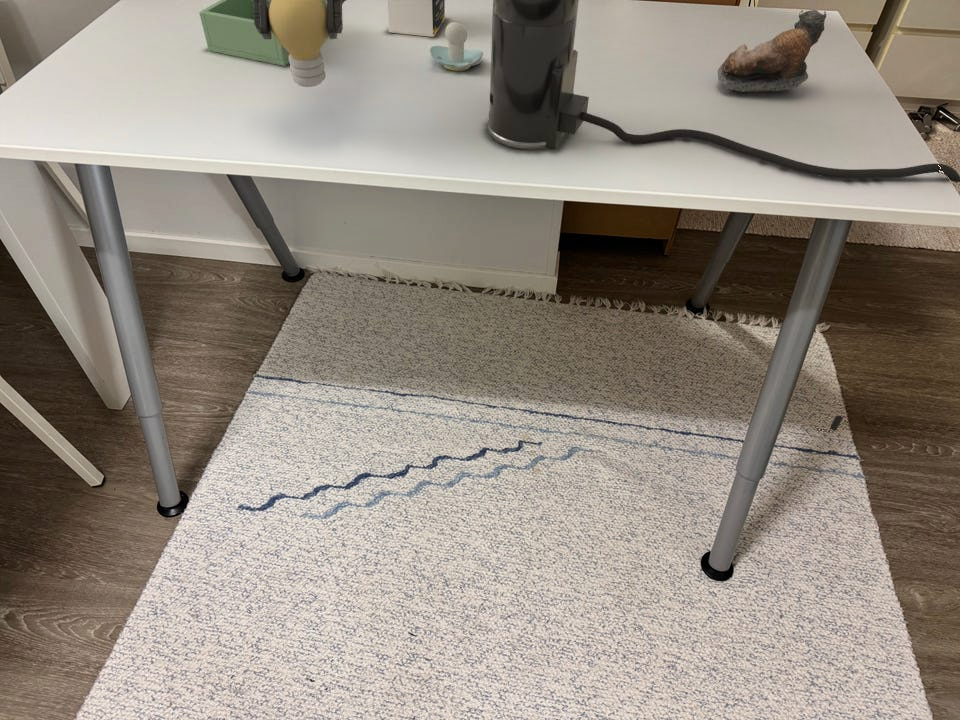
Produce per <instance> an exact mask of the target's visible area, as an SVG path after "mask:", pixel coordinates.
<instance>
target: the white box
mask: <svg viewBox="0 0 960 720" xmlns="http://www.w3.org/2000/svg"><path fill="white" fill-rule="evenodd" d="M445 3H446V2H445V0H386V11H387V12H386V13H387V27H388V32H389V33H390V34H401V35H411V36H420V37H429V38H432V37H435V36H436V34H437V33H438V31H439V30H440V27H441V26H442V25H443V23H444V21H445V19H446V11H445V10H446V6H445Z"/></svg>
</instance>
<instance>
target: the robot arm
mask: <svg viewBox="0 0 960 720" xmlns="http://www.w3.org/2000/svg"><path fill="white" fill-rule="evenodd" d="M251 1H253V5H254V24H255V27H256V29H257V30H258V32H259V34H262V36H263V38H264V39H265V40H269V39H272V33H271V28H270V24H269V18H268V12H269V6H270V4H269V1H270V0H251ZM346 1H347V0H326V3H327V27H328V37H329V39H330V40H338V34H342V32H343V30H344V24H343V23H344V20H343V5H344V3H345V2H346ZM579 2H580V0H492V19H491V50H490V54H491V55H490V81H489V83H490V84H489V85H490V86H489V110H488V122H487V131H488V134H489V135H490V137H491V138H492V139H493V140H494V141H496V142H497V143H500V144H501V145H503V146H507V147H509V148H514V149H520V150H540V149H550V150H555V149H556V148H557V147H558V145H560V142H562V140H563V139H564V137H565V134H568V135H569V134H570V135H576V134H577V132H578V130H579V128H580V127H581V126H582V124H583V122H586V123H588V124H591V125H595V126H598V127H600V128H603V129H605V130H607V131H609V132H610V133H613V135H615V137H617V138H618V139H620V140H621V141H623V142H626V143H630V144H649V143H654V142H655V143H656V142H661V141H664V140H670V139H671V140H672V139H683V138H684V139H692V140H693V139H694V140H699V141H705V142H708V143H711V144H715V145H717V146H721V147H723V148H725V149H728V150H730V151H734V152H737V153H739V154H742V155H745V156H748V157H751V158H755V159H758V160H762V161H764V162H767V163H770V164H774V165H777V166H780V167H784V168H786V169H789V170H793V171H797V172H801V173H805V174H808V175H815V176H819V177H827V178H832V179H833V178H834V179H835V178H836V179H850V180H851V179H853V180H855V179H856V180H857V179H899V178H906V177H907V178H908V177H912V176H913V177H914V176H918V175H924V174H931V173H932V174H935V173H934V172H938V173H937V174H942V175H944V174H945V175H944V176H946V177H947V179H949V180H950V182H954V183H960V174H959V172H958V171H957V170H956V169H954V168H953V167H952V166H949V165H948V164H945V163H926V164H920V165H914V166H909V167H901V168H865V169H864V168H863V169H856V168H855V169H849V168H848V169H847V168H834V167H827V166H819V165H814V164H810V163H805V162H801V161H798V160H795V159H791V158H788V157H784V156H781V155H778V154H776V153H772V152H769V151H766V150H763V149H759V148H755V147H752V146H749V145H746V144H743V143H740V142H737V141H734V140H732V139H729V138H726V137H724V136H721V135H718V134H714V133H711V132H707V131H703V130H702V131H701V130H697V129H689V128H688V129H687V128H677V129H668V130H663V131H659V132H653V133H648V134H633V133H628V132H626V131H625V130H624V129H623V128H621V126H619V125H618V124H616V123H615V122H613V121H610V120H609V119H605V118H603V117H600V116H597V115H594V114H591V113H588V108H589V107H588V106H589V101H590V100H589V98H590V97H589V96H586V95H581V94H576V93H574V89H575V81H576V80H575V79H576V72H577V63H578V55H579V53H578V51H577V50H576V49H574V46H575V38H576V37H575V36H576V29H577V18H578V9H579ZM938 165H939V166H940V167H941V169H940V167H939V166H938ZM939 170H940V171H943V172H944V174H943V173H940V172H939ZM843 419H844V416H841V415H835V417H834V419H833V421H832V422H831V424H830V426H829V428H830V430H832V431H836V430H838V428H839V426H840V424H841V422H842V421H843Z"/></svg>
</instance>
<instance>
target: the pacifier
mask: <svg viewBox="0 0 960 720" xmlns="http://www.w3.org/2000/svg"><path fill="white" fill-rule="evenodd" d="M444 32H445V33H444V35H445V38H446V40H447V42H448V47H446V46H442V45H434V46H431V47H430V48H429V54H430V56H431V58H432V59H433V61H435V62H437V63H438V64H439V65H442V66H443V67H444V68H445V69H447V70H451V71H456V72H459V71H460V72H461V71H466V70H469V69H470V68H471V67H473V66H477V65H479V64H481V63H482V62H483V59H482V57H483V55H484V51H483V50H481V49H480V50H478V49H465V43H466V41H467V40H468V31H467V29H466V27H465V26H464V25H463V24H461V23H460V22H457V21H453V22H450V23H448V24H447V26H446V27H445V31H444Z"/></svg>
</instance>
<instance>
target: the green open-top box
mask: <svg viewBox="0 0 960 720" xmlns="http://www.w3.org/2000/svg"><path fill="white" fill-rule="evenodd" d="M271 1H272V0H270V1H269V4H270V3H271ZM322 1H323V2H324V4H325V5H326V7H327V0H322ZM198 12H199V17H200V21H201V26H202V29H203V30H202V31H203V33H204V38H205V41H206V47H207V51H209V52H214V53H219V54H222V55H223V54H224V55H229V56H233V57H238V58H242V59H248V60H252V61H253V60H254V61H257V62H258V61H259V62H263V63H267V64H272V65H277V66H282V67H286V66H287V65H288V64H290V63H289V55H290V53H289V52H288V51H287V50H286V49H285V48H284V47H283V46H282V45H281V44H280V43H279V42H278V40H277V39H276V38H275V36H274V35H273V33H272V30H271V33H272V39H269V40H265V39H264V38H263V36H262V34H259V32H258V30H257V29H256V27H255V24H254V5H253V1H251V0H217V2H214V3H213V4H210V5H209V6H207V7H206V8H204V9H202V10H200V11H198Z"/></svg>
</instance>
